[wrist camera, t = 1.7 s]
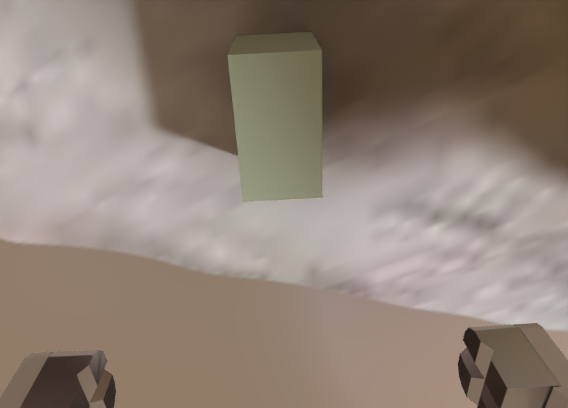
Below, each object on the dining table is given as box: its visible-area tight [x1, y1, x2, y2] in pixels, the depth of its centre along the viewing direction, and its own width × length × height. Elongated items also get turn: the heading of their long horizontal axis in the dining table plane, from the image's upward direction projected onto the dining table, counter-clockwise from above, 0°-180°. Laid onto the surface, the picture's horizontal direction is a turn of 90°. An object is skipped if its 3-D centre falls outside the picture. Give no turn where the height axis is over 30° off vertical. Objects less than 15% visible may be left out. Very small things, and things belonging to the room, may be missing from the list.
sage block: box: [227, 32, 322, 202], centre depth 25 cm, size 4×8×6 cm, turn 3°
